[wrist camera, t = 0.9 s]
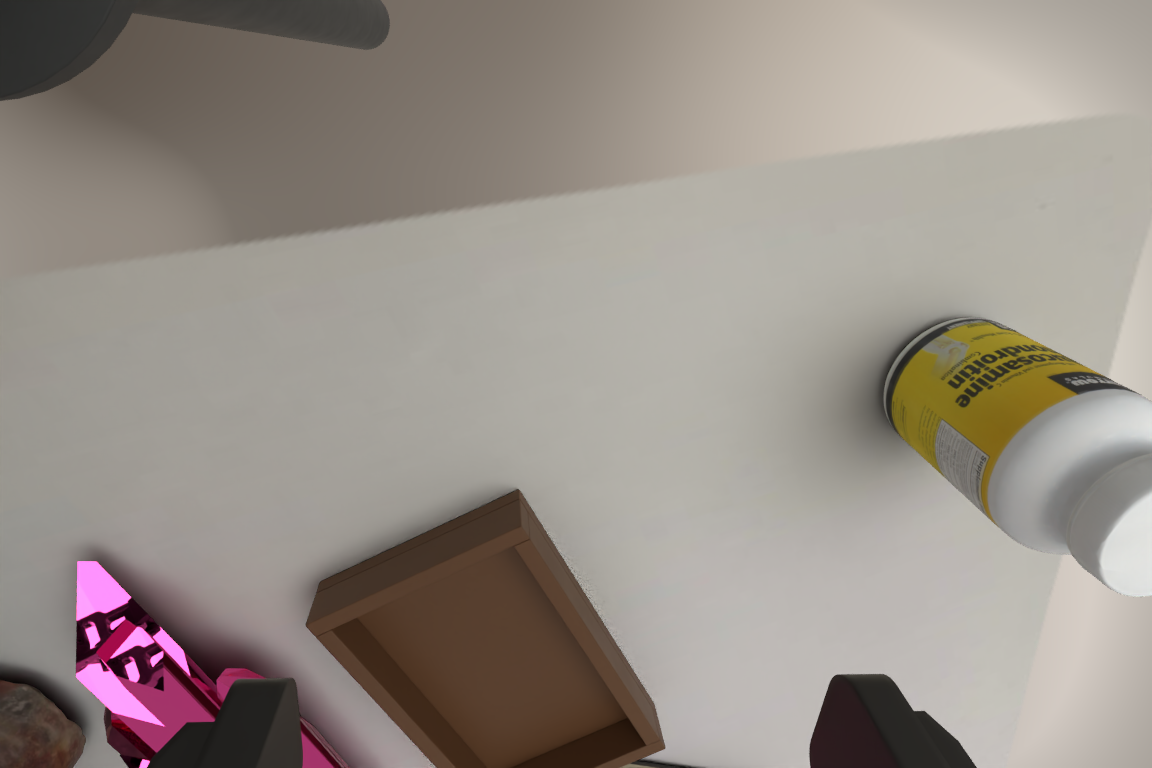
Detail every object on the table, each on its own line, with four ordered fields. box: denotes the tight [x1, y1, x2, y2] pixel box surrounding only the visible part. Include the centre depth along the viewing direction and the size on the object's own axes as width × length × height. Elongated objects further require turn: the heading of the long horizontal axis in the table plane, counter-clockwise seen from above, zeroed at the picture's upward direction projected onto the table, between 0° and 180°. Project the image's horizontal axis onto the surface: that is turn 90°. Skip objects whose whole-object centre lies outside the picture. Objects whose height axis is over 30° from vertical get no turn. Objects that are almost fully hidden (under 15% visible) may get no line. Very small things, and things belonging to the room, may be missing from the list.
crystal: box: [76, 561, 350, 768], centre depth 32 cm, size 8×6×25 cm
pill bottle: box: [884, 318, 1152, 597], centre depth 26 cm, size 6×6×12 cm
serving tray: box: [306, 490, 665, 768], centre depth 33 cm, size 17×11×3 cm, turn 25°
